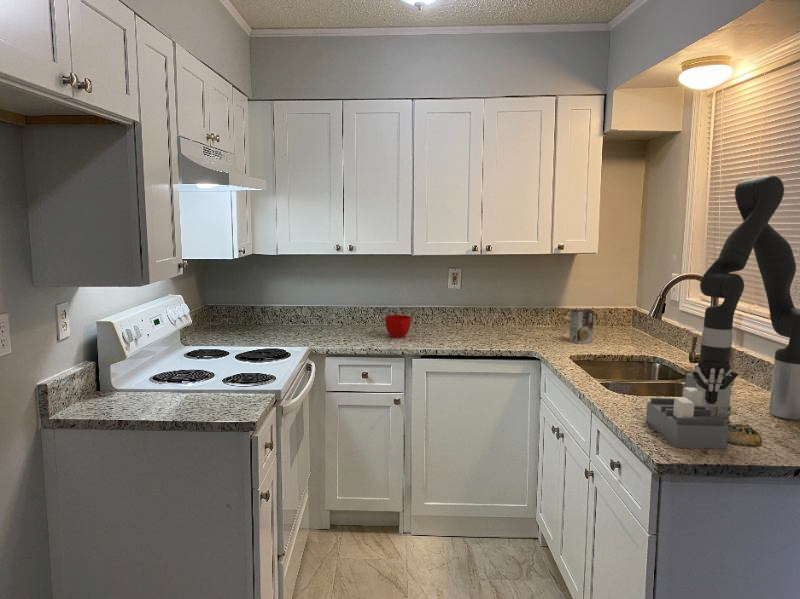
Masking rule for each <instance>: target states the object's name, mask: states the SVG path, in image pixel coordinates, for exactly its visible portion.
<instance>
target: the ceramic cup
mask: <svg viewBox="0 0 800 599" xmlns="http://www.w3.org/2000/svg"><path fill="white" fill-rule="evenodd" d="M384 319H385V328H386V331H387V332H388V335H390V337H392V338H396V339H400V338H401V339H402V338H404V337H405V336H407V334H408V333H409V330H410V328H411V323H412V317H411V316H410V315H405V314H391V315H386V316H385V317H384Z"/></svg>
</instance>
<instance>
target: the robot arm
mask: <svg viewBox="0 0 800 599" xmlns="http://www.w3.org/2000/svg"><path fill="white" fill-rule="evenodd" d="M784 195H785V186H784V183H783V181H782V179H781V178H780V177H778V176H776V175H765V176H758V177H754V178H749V179H744V180H741V181H738V183H737V184H736V186H735V189H734V198H735V203H736V205H737V209H738V211H739V213H740V215H741V218H742V222H741V223H740V224H739V225H738V226H737V227H736V228H735V229H734V230H732V232H731V233H730V234H729V235H728V237H726V240H725V242H724V243H723V246H722V249H721V251H720V253H719V255H718V257H717V258H716V260H715V261H714V262H713V264H711V265H710V266H709V268H708V269H707V270H706V271H705V272H704V274H703V275H702V277H701V280H700V282H699V283H700V284H699V288H700V292H701V293H702V294H703V295H704V296H706V297H709V298H719V299H723V301H722V303H721V304H720V305H710V306H707V307H706V308H705V310H704V311H705V312H704V317H703V318H704V320H703V328H702V332H701V340H700V349H699V350H700V351H699V362H698V364H697V365H698V367H697V368H695V367H694V369H690V370H689V372H688V373H690V374H691V375H692V377H693V378H694V380H695V381H696V382H697V384H698V385H699V386H700V387H702V388H703V389H705V400H706V402H707V403H709V404H715V402H717V397H718V391H719V390H721V389H723V390H724V389H726V388H727V386H728V385H729V384H730V383H732V381H733V380H734V381H735V379H736V378H737V377H738V373H737V372H735V371H734V370H732V369H731V365H730V361H731V357H732V356H731V353H732V345H733V326H734V325H733V323H734V316H735V312H736V309H737V306H738V305H739V301H740V299H741V297H742V295H743V293H744V290H745V281H744V278H743V277H742V276H741V275H740V274H738V273H737V272H741V271H742V270H744V269H745V267H746V265H747V263H748V260H749V258H750V257H751V254H752V251H754V256H755V261H756V263H757V267H758V270H759V273H760V275H761V279H762V284H763V288H764V290H765V294H766V297H767V298H766V299H767V304H768V309H769V310H768V311H769V316H770V317H769V318H770V322H771V326H772V329H773V330H774V331H775V333H776V334H777V335H779V336H782V337H784V338H788V339H789V340H788V345H787V346H786V347H784V348H782V347H781V348H778V349H776V350H775V352H774V360H773V361H774V362H773V372H772V380H771V381H772V382H771V389H770V398H769V406H768V407H769V410H768V413H769V414H770V415H772V416H775V417H777V418H780V419H787V420H793V421H794V420H795V421H796V420H797V421H799V420H800V308H798V307H797V308H796V306H795V304H794V302H793V299H792V294H791V286H792V283H793V281H794V278H795V275H796V272H797V262H796V260H795V257H794V253H793V250H792V247H791V245H790V243H789V242H788V240H786V239H785V238H784V236H782V235H781V234H780V233H779V231H777V230H776V229H774V228H773V226H772V225H770V223H769V221H770V220H771V219H772V218H773V216H774V213H775V212H777V209H778V208H779V207H780V204H781V202H782V200H783V198H784ZM700 371H701V373H702V374H703V376H704V381H705V383H704V381H703V380H702V378H701V377H700V375H701V373H700ZM725 374H726V375H725ZM724 376H725V377H724ZM723 377H724V378H723ZM722 378H723V379H722Z"/></svg>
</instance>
